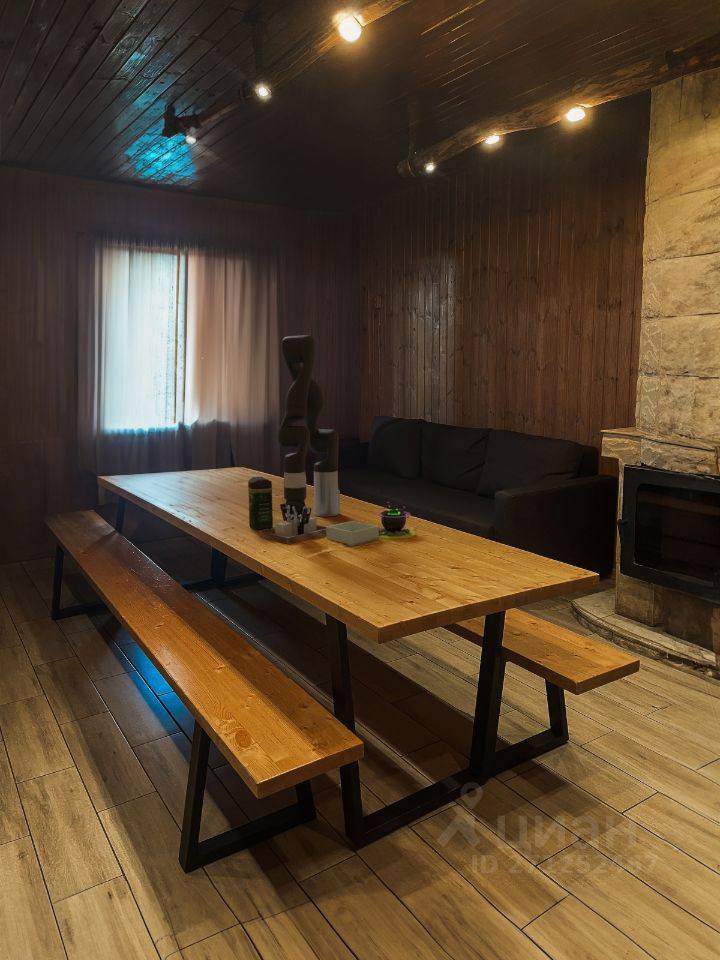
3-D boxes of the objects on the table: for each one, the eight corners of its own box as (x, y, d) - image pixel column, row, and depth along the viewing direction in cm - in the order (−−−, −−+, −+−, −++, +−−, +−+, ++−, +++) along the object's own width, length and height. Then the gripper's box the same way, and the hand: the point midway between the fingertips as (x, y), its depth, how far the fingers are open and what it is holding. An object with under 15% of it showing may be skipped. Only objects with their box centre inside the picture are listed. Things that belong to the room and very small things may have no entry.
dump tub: (352, 533, 243) (352, 520, 243) (378, 539, 235) (378, 526, 234) (326, 540, 235) (326, 526, 234) (352, 546, 226) (352, 532, 226)
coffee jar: (275, 530, 250) (274, 478, 247) (253, 532, 247) (252, 479, 244) (268, 524, 258) (267, 474, 255) (247, 526, 255) (245, 476, 252)
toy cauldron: (421, 531, 247) (421, 500, 245) (406, 540, 234) (406, 508, 232) (382, 527, 253) (382, 497, 252) (364, 536, 240) (364, 504, 238)
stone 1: (282, 536, 238) (282, 521, 237) (292, 537, 236) (291, 523, 235) (275, 538, 235) (274, 523, 234) (284, 540, 233) (284, 525, 232)
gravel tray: (303, 528, 251) (303, 521, 251) (331, 535, 241) (331, 527, 241) (260, 538, 238) (260, 531, 237) (288, 545, 228) (287, 538, 227)
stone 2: (296, 533, 242) (296, 519, 241) (304, 535, 239) (304, 520, 239) (287, 535, 239) (287, 520, 239) (295, 537, 237) (295, 522, 236)
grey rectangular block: (308, 530, 246) (308, 516, 245) (316, 532, 243) (316, 518, 243) (300, 532, 243) (299, 518, 242) (307, 534, 240) (307, 520, 240)
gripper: (317, 486, 234) (318, 536, 237) (289, 481, 244) (290, 529, 247) (300, 489, 229) (301, 540, 232) (272, 484, 239) (274, 533, 242)
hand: (296, 534), depth 239 cm, fingers closed on stone 2, 4 cm apart
